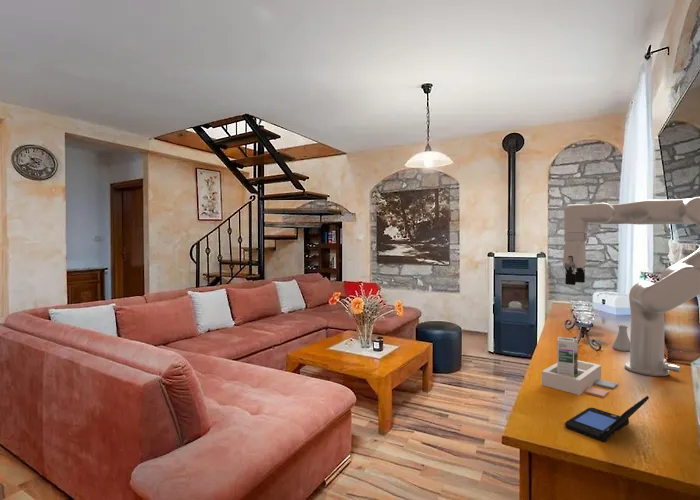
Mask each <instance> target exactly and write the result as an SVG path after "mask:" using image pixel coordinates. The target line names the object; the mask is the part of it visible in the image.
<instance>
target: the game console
mask: <svg viewBox="0 0 700 500" xmlns="http://www.w3.org/2000/svg"><path fill="white" fill-rule="evenodd" d="M649 399H650V397H649V396H648V395H646V396H645V397H643V398H642V399H641V400H639V401H637V402H636V403H635V404H633V406H631V407H629V408H628V409H627V410H626V411H624V412H623V413H622V414H621V415H618V414H614V413H611V412H608V411H604V410H602V409H599V408H596V407H588V408H586V409H584V410H583V411H581V412H580V413H578V414H576V415H575V416H573V417H572V418H570V419H568V420H567V421H565V423H564V426H565V428H567V429H568V430H571V431H574V432H576V433H578V434H581V435H585V436H587V437H589V438H591V439H594V440H597V441H600V442H601V443H606V442H607V441H608V440H609V439H610V438H611V437H612V436H614V435H615V432H618V431H620V430H622V429H623V428H624V427H626V426H627V425H629V423H630V420H629V419H630V417H632V415H634V414H635V413H636V411H638V410H639V409H640V408H641V407H643V405H644V404H646V402H647V401H648V400H649Z"/></svg>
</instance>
